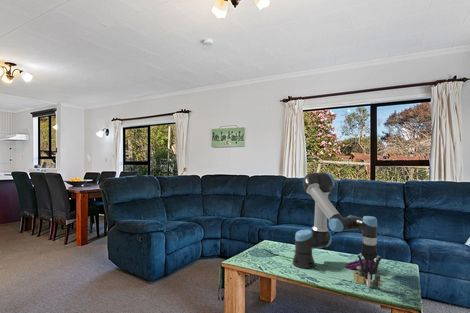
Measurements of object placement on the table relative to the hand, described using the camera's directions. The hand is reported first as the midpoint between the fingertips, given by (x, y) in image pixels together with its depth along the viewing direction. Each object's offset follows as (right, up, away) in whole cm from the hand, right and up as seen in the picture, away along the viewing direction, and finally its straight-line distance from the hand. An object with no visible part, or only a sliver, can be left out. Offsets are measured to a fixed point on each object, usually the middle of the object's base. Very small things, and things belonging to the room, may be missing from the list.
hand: (368, 284), depth 161 cm
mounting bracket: (+7, -3, +26) cm, 27 cm away
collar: (+1, -1, +4) cm, 5 cm away
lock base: (0, -3, +8) cm, 9 cm away
